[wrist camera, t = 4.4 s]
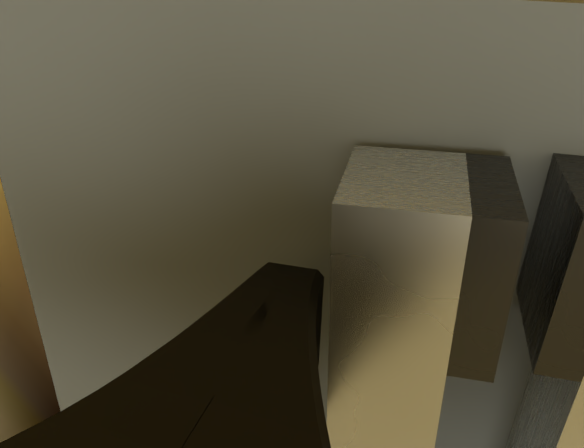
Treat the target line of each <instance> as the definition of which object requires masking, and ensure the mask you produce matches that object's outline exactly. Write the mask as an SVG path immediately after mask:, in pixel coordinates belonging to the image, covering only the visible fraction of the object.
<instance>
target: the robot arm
mask: <svg viewBox="0 0 584 448" xmlns="http://www.w3.org/2000/svg"><path fill="white" fill-rule="evenodd" d="M323 288H324V276H323V275H322V274H321V273H320V271H319V270H317V269H311V268H304V267H298V266H291V265H285V264H278V263H272V262H268V263H267V264H265V265H264V266H262V267H261V268H260V269H259V270H257V271H256V272H255V273H254V274H253V275H251V276H250V277H249V278H248V279H247V280H245V281H244V282H243V283H242V284H241V285H240V286H238V287H237V288H236V289H235V290H234V291H232V292H231V293H230V294H229V295H228V296H226V297H225V298H224V299H223V300H221V301H220V302H219V303H218V304H217V305H215V306H214V307H213V308H212V309H210V310H209V311H208V312H207V313H205V314H204V315H203V316H201V317H200V318H199V319H198V320H196V321H195V322H194V323H192V324H191V325H190V326H189V327H187V328H186V329H185V330H184V331H182V332H181V333H180V334H178V335H177V336H176V337H174V338H173V339H172V340H170V341H169V342H167V343H166V344H165V345H163V346H162V347H160V348H159V349H157V350H156V351H155V352H153V353H152V354H150V355H149V356H147V357H146V358H145V359H143V360H142V361H140V362H139V363H138V364H136V365H135V366H133V367H132V368H130V369H129V370H127V371H126V372H124V373H123V374H121V375H120V376H118V377H117V378H115V379H114V380H112V381H111V382H109V383H108V384H106V385H104V386H103V387H101V388H100V389H98V390H96V391H95V392H93V393H91V394H90V395H88V396H86V397H84V398H83V399H81V400H79V401H78V402H76V403H74V404H72V405H71V406H69V407H67V408H66V409H64V410H62V411H60V412H59V413H57V414H55V415H53V416H51V417H50V418H48V419H46V420H44V421H42V422H40V423H38V424H36V425H34V426H33V427H31V428H29V429H27V430H25V431H23V432H21V433H19V434H17V435H15V436H13V437H11V438H9V439H7V440H5V441H3V442H1V443H0V448H331V445H330V440H329V435H328V429H327V424H326V419H325V413H324V406H323V400H322V393H321V387H320V378H319V370H318V365H319V353H320V337H321V321H322V305H323Z"/></svg>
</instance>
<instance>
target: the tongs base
mask: <svg viewBox="0 0 584 448" xmlns="http://www.w3.org/2000/svg"><path fill="white" fill-rule="evenodd" d="M516 292H517V297H518V302H519V307H520V312H521V316H522V321H523V326H524V331H525V336H526V341H527V346H528V351H529V356H530V361H531V366H532V367H531V370H530V373H529V377H528V380H527V383H526V386H525V389H524V392H523V395H522V399H521V402H520V405H519V408H518V411H517V414H516V417H515V421H514V424H513V427H512V430H511V433H510V436H509V439H508V443H507V446H506V448H584V156H580V155H570V154H560V153H553V155H552V159H551V163H550V166H549V170H548V173H547V177H546V181H545V184H544V188H543V192H542V195H541V199H540V203H539V206H538V210H537V214H536V217H535V221H534V225H533V228H532V232H531V236H530V239H529V243H528V246H527V250H526V254H525V257H524V261H523V265H522V268H521V272H520V276H519V279H518V283H517V287H516Z"/></svg>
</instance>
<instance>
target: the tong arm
mask: <svg viewBox="0 0 584 448" xmlns="http://www.w3.org/2000/svg"><path fill="white" fill-rule="evenodd" d="M528 225H529V220H528V217H527V213H526V210H525V206H524V203H523V200H522V196H521V193H520V189H519V186H518V183H517V179H516V176H515V172H514V169H513V166H512V162H511V159H510V156H498V155H484V154H469V153H455V152H441V151H427V150H412V149H398V148H384V147H370V146H354V149H353V151H352V154H351V156H350V159H349V161H348V164H347V166H346V169H345V172H344V174H343V177H342V179H341V182H340V184H339V187H338V189H337V192H336V194H335V197H334V199H333V202H332V219H331V261H330V303H329V345H328V387H327V429H328V435H329V440H330V445H331V448H435V442H436V436H437V430H438V424H439V417H440V411H441V405H442V399H443V393H444V387H445V381H446V376H452V377H458V378H465V379H471V380H478V381H484V382H491V383H494V379H495V374H496V370H497V365H498V361H499V356H500V351H501V347H502V342H503V338H504V333H505V329H506V324H507V320H508V315H509V311H510V306H511V302H512V297H513V293H514V288H515V284H516V279H517V275H518V270H519V266H520V261H521V256H522V252H523V247H524V243H525V238H526V234H527V229H528Z"/></svg>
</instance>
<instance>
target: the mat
mask: <svg viewBox="0 0 584 448" xmlns="http://www.w3.org/2000/svg"><path fill="white" fill-rule="evenodd" d="M354 146H370V147H384V148H398V149H412V150H427V151H441V152H455V153H469V154H484V155H498V156H510V159H511V162H512V166H513V169H514V172H515V176H516V179H517V183H518V186H519V189H520V193H521V196H522V200H523V203H524V206H525V210H526V213H527V217H528V220H529V225H528V229H527V234H526V238H525V243H524V247H523V252H522V256H521V261H520V266H519V270H518V275H517V279H516V284H515V288H514V293H513V297H512V302H511V306H510V311H509V315H508V320H507V324H506V329H505V333H504V338H503V342H502V347H501V351H500V356H499V361H498V365H497V370H496V374H495V379H494V383H491V382H484V381H478V380H471V379H465V378H458V377H452V376H446V381H445V387H444V393H443V399H442V405H441V411H440V417H439V424H438V430H437V436H436V442H435V448H506V446H507V443H508V439H509V436H510V433H511V430H512V427H513V424H514V421H515V417H516V414H517V411H518V408H519V405H520V402H521V399H522V395H523V392H524V389H525V386H526V383H527V380H528V377H529V373H530V370H531V367H532V366H531V361H530V356H529V351H528V346H527V341H526V336H525V331H524V326H523V321H522V316H521V312H520V307H519V302H518V297H517V292H516V287H517V283H518V279H519V276H520V272H521V268H522V265H523V261H524V257H525V254H526V250H527V246H528V243H529V239H530V236H531V232H532V228H533V225H534V221H535V217H536V214H537V210H538V206H539V203H540V199H541V195H542V192H543V188H544V184H545V181H546V177H547V173H548V170H549V166H550V163H551V159H552V155H553V153H560V154H570V155H580V156H584V0H0V178H1V182H2V186H3V190H4V194H5V198H6V201H7V205H8V209H9V213H10V217H11V221H12V225H13V228H14V232H15V236H16V240H17V244H18V248H19V252H20V256H21V259H22V263H23V267H24V271H25V275H26V279H27V283H28V287H29V290H30V294H31V298H32V302H33V306H34V310H35V314H36V317H37V321H38V325H39V329H40V333H41V337H42V341H43V345H44V348H45V352H46V356H47V360H48V364H49V368H50V372H51V375H52V379H53V383H54V387H55V391H56V395H57V399H58V403H59V406H60V410H61V411H62V410H64V409H66V408H67V407H69V406H71V405H72V404H74V403H76V402H78V401H79V400H81V399H83V398H84V397H86V396H88V395H90V394H91V393H93V392H95V391H96V390H98V389H100V388H101V387H103V386H104V385H106V384H108V383H109V382H111V381H112V380H114V379H115V378H117V377H118V376H120V375H121V374H123V373H124V372H126V371H127V370H129V369H130V368H132V367H133V366H135V365H136V364H138V363H139V362H140V361H142V360H143V359H145V358H146V357H147V356H149V355H150V354H152V353H153V352H155V351H156V350H157V349H159V348H160V347H162V346H163V345H165V344H166V343H167V342H169V341H170V340H172V339H173V338H174V337H176V336H177V335H178V334H180V333H181V332H182V331H184V330H185V329H186V328H187V327H189V326H190V325H191V324H192V323H194V322H195V321H196V320H198V319H199V318H200V317H201V316H203V315H204V314H205V313H207V312H208V311H209V310H210V309H212V308H213V307H214V306H215V305H217V304H218V303H219V302H220V301H221V300H223V299H224V298H225V297H226V296H228V295H229V294H230V293H231V292H232V291H234V290H235V289H236V288H237V287H238V286H240V285H241V284H242V283H243V282H244V281H245V280H247V279H248V278H249V277H250V276H251V275H253V274H254V273H255V272H256V271H257V270H259V269H260V268H261V267H262V266H264V265H265V264H267V263H268V262H272V263H278V264H285V265H291V266H298V267H304V268H311V269H317V270H319V271H320V273H321V274H322V275H323V276H324V288H323V305H322V321H321V337H320V353H319V365H318V370H319V378H320V387H321V393H322V400H323V406H324V413H325V419H326V424H327V387H328V345H329V303H330V261H331V219H332V202H333V199H334V197H335V194H336V192H337V189H338V187H339V184H340V182H341V179H342V177H343V174H344V172H345V169H346V166H347V164H348V161H349V159H350V156H351V154H352V151H353V149H354Z"/></svg>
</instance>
